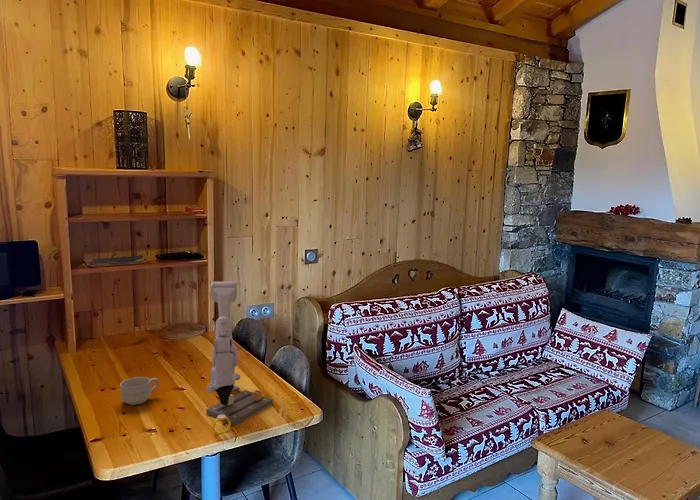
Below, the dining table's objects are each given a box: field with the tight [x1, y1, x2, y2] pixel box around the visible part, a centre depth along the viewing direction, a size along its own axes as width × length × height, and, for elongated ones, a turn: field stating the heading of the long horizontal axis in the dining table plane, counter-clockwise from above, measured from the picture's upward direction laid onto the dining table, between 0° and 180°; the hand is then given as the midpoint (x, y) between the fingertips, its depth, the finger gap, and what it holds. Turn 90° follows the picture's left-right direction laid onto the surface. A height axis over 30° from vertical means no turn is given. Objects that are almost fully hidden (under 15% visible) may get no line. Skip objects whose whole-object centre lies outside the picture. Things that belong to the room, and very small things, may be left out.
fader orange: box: [253, 389, 263, 401], centre depth 195 cm, size 2×2×3 cm
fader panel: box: [205, 389, 274, 426], centre depth 192 cm, size 14×20×2 cm
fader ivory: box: [227, 393, 234, 405], centre depth 191 cm, size 2×2×3 cm
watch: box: [211, 415, 232, 435], centre depth 175 cm, size 6×3×6 cm, turn 122°
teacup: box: [119, 376, 160, 406], centre depth 196 cm, size 14×11×8 cm
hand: (224, 404), depth 189 cm, fingers closed
